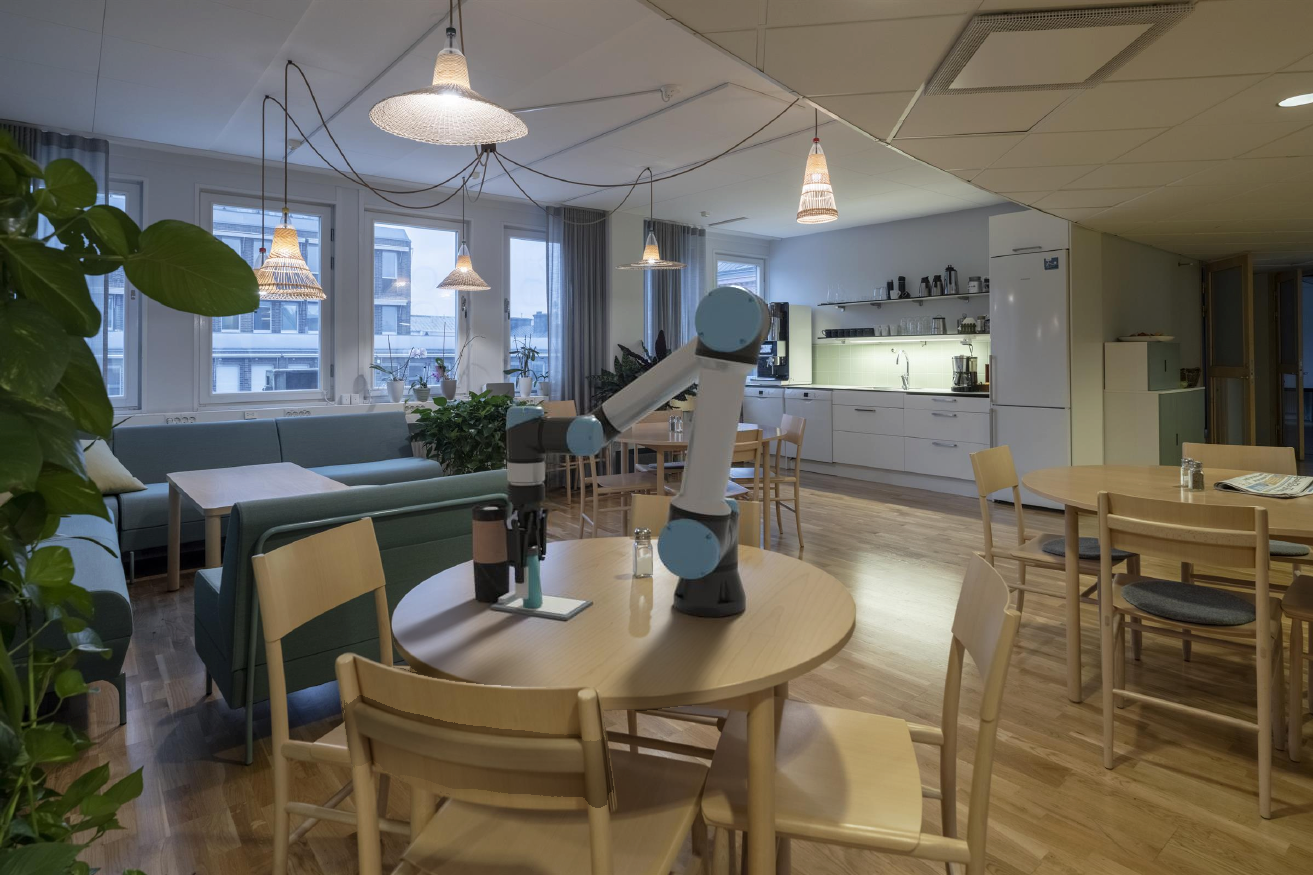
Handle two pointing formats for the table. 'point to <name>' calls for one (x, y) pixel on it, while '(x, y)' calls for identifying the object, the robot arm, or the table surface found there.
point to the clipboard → (543, 606)
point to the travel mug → (490, 552)
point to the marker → (533, 578)
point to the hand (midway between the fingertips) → (528, 594)
